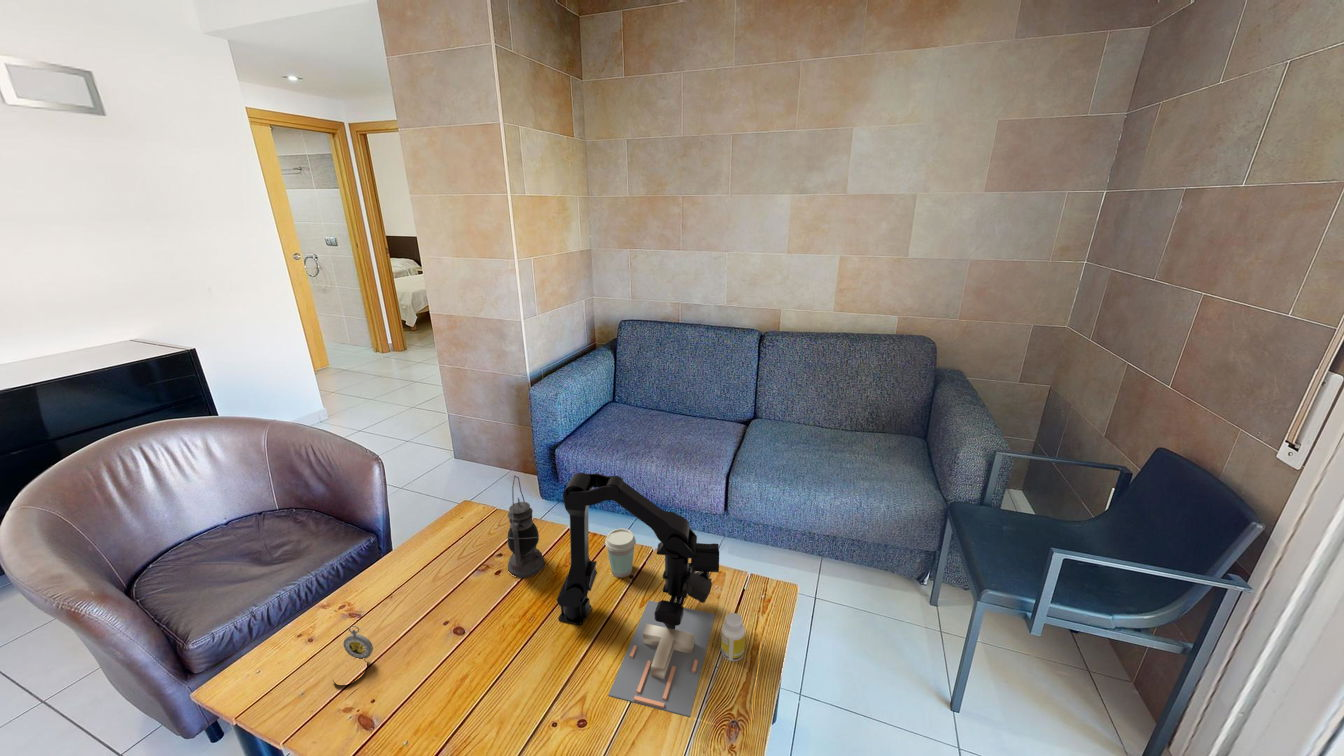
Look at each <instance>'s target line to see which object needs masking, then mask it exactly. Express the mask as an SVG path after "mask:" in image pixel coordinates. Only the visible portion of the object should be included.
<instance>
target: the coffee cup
mask: <svg viewBox="0 0 1344 756" xmlns="http://www.w3.org/2000/svg"><path fill="white" fill-rule="evenodd" d="M635 545H636V537H635V535H634V532H632V531H631V530H629V529H628V528H622V527H621V528H616V529H613V530H611V531H610V532H609V533H608V534H607V536H606V538H605V542H604V546H605V547H606V549H607V553H608V554H607V555H608V561H609V566H610V570H611V571H610V572H611V575H612V576H613V577H616V578H626V577H628V576H630V575H631V573H632V571H633V564H634V554H635Z"/></svg>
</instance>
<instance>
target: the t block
mask: <svg viewBox="0 0 1344 756" xmlns="http://www.w3.org/2000/svg"><path fill="white" fill-rule="evenodd" d="M643 643H645V644H649V645H654V646H658V648H657V650H656V653H655V656H654V659H653V662H652V665H651V676H652V677H657V678H661V679H665V675H666V672H667V669H668V666H669V662H670V659H671V656H672V653H673V650H677V651H681V652H686V653H690V654H692V652H693V648H694V645H695V634H693V633H689V632H684V631H679V630H674V629H670V628H665V627H660V626H655V625H651V624H646V627H645V629H644V632H643Z"/></svg>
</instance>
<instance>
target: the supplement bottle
mask: <svg viewBox="0 0 1344 756" xmlns="http://www.w3.org/2000/svg"><path fill="white" fill-rule="evenodd" d="M743 620H744V619H743V617H742V616H741V615H740V614H738V613H737V612H736V613H735V612H729V613H728V614H726V615H725V618H724V623H723V624H722V626H721V637H720V638H721V639H720V640H721V641H720V642H721V644H720V645H721V647H720V649H721V650H720V651H721V655H722V656H723V658H724V659H726V660H728V661H730V662H737V661H740V660H742V659H743V657H744V655H745V646H746V644H745V643H746V641H745V639H746V628H745V625H744V624H743V622H744V621H743Z"/></svg>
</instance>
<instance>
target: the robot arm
mask: <svg viewBox="0 0 1344 756" xmlns="http://www.w3.org/2000/svg"><path fill="white" fill-rule="evenodd" d="M562 499H563V504H564V508H565V510H566V512H567V514H568V515H569V531H570V533H569V537H570V539H569V540H570V541H569V543H570V544H569V545H570V546H569V547H570V567H569V570H568V574H567V575H566V577H565V579H564V582H563V584H562V586H561V589H560V591H559V593H558V596H557V598H556V602H557V604H558V606H559V607H560V614H559V615H558V621H560V622H563V623H568V624H569V623H570V624H573V625H578V626H583V625H582V624H583V623H584V622H585V620H586V618H587V617H588V615H589V614H590V612H591V609H592V605H591V604H590V603H591V602H590V598H589V597H588V596H589V595H588V594H589V592H591V591H592V588H593V585H594V582H595V580H596V577H597V574H598V572H597V568H596V567H597V561H595V560H593V561H592V560H591V559H590V557H589V555H590V554H589V551H590V550H589V548H590V547H589V545H590V543H589V537H590V536H589V510H590V509H589V508H590V506H595V505H597V504H600V503H602V502H606V501H612V502H615V503H616V504H617V505H618V506H621V507H622V508H623V509H624V510H625V511H627V512H628V513H630V514H631V515H632V516H634V517H635V518H637V519H638V520H640V521H641V522H642V523H643V524H645V525H647V526H648V527H649V528H650V529H651V530H652V531H653V533H654V534H655V536H656V538H657V539H658V541H659V543H658V544H657V548H656V555H660V556H664V571H663V573H662V579H664V581H665V582H664V585H663V587H662V592H663V593H665V594H668V595H669V596H670V599H669V600H663V599H661V600H660V601H657V602H658V605H657V608H656V610H655V620H656V621H658V622H662V623H664V624H665V625H666V627H667V628H670V629H674V630H675V627H676V625H677V626H678V625H680V623H681V620H682V617H683V614H684V613H683V612H684V608H685V607H684V603H685V599H687V598H688V596H689V597H691V598H692V599H694V600H696V601H698V602H699V603H702V604H704V603H706V601H707V599H708V597H709V595H710V593H711V590H712V586H713V583H712V580H713V579H712V578H710V576H711V575H710V573H720V549H719V548H720V545H719V543H699V542H698V535H697V534H696V533H695V532H694V531H693V530H692V529H691V527H690V523H689V521H688V519H686V518H685V517H683V516H682V515H679V514H677V513H675V512H673V511H668V510H664V509H662V508H661V507H659V506H658V505H656V504H655V503H653V501H651V500H650V499H648V498H647V497H645V496H644V495H643V494H641V493H640V492H638V491H637V490H635V489H634V488H633V487H631V486H630V485H629V484H627V483H626V482H625V481H624V480H623V478H622V477H620V476H618V475H605V474H601V473H585V472H578V473H575V474H574V475H572V477H571V478H570V480H569V482H568V483H567V485H566V487H565V488H564V491H563V493H562ZM689 559H690V561H689Z"/></svg>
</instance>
